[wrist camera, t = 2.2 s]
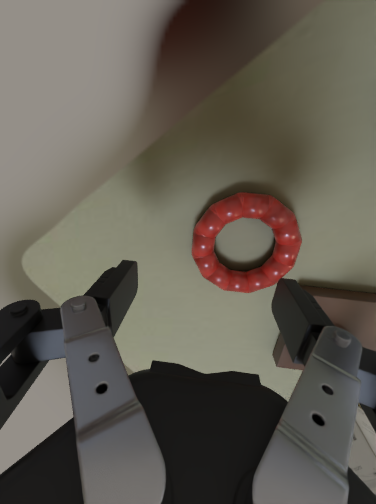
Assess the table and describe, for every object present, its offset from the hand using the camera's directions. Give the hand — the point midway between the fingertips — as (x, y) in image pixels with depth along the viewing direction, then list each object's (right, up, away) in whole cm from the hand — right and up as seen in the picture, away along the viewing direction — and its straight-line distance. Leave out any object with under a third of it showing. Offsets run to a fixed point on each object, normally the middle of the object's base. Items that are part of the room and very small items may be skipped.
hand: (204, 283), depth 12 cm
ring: (+4, +2, +5) cm, 7 cm away
